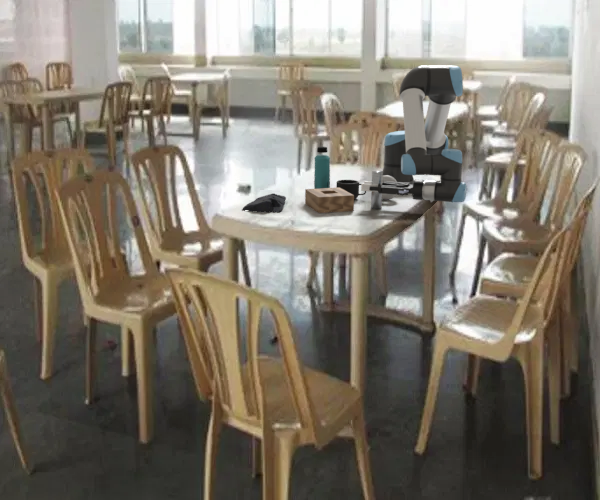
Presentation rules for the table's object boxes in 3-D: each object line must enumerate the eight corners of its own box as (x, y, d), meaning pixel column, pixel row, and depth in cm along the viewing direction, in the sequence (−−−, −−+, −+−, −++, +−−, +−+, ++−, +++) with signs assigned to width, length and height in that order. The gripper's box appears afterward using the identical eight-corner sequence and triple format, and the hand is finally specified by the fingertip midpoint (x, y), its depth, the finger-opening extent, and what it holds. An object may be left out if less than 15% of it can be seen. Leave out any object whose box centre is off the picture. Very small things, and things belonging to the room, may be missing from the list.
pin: (379, 206, 324) (380, 170, 320) (383, 208, 320) (384, 172, 316) (369, 206, 323) (370, 170, 319) (373, 209, 319) (374, 172, 315)
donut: (372, 199, 337) (373, 174, 335) (375, 197, 341) (376, 173, 338) (396, 201, 334) (397, 176, 331) (399, 200, 337) (400, 175, 334)
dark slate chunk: (292, 202, 333) (292, 190, 331) (279, 214, 312) (279, 202, 311) (254, 200, 336) (254, 189, 334) (239, 212, 315) (239, 200, 313)
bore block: (339, 202, 331) (339, 187, 330) (353, 210, 317) (354, 195, 315) (305, 204, 327) (305, 189, 326) (318, 213, 312) (318, 197, 311)
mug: (334, 200, 335) (334, 183, 333) (338, 196, 343) (338, 179, 341) (364, 202, 333) (365, 184, 331) (367, 197, 341) (367, 180, 339)
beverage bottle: (328, 197, 341) (329, 148, 336) (312, 196, 342) (312, 147, 337) (331, 194, 347) (332, 145, 342) (315, 193, 348) (315, 145, 343)
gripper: (419, 204, 307) (357, 200, 314) (427, 195, 323) (367, 191, 330) (420, 184, 305) (357, 180, 312) (428, 176, 321) (368, 172, 328)
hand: (363, 186), depth 321 cm, fingers closed on pin, 4 cm apart
